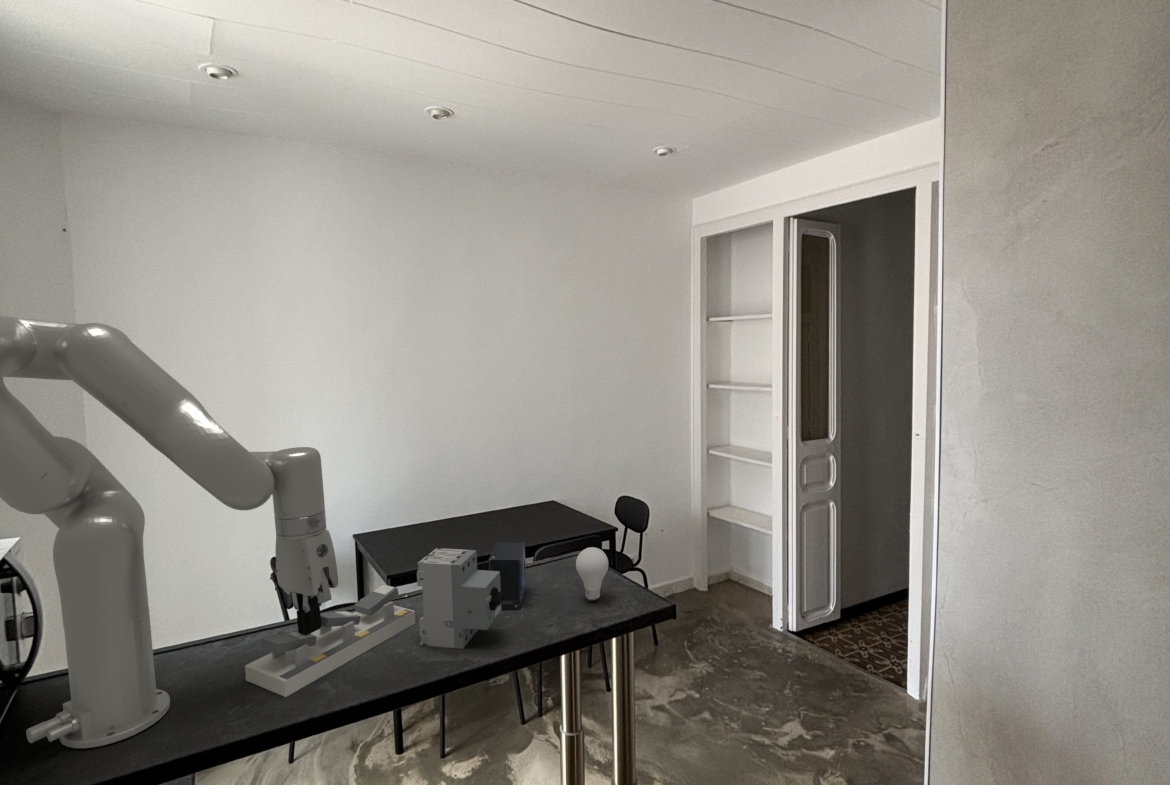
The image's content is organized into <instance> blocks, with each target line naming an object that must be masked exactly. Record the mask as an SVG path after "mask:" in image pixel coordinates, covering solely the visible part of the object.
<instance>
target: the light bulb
mask: <svg viewBox="0 0 1170 785" xmlns="http://www.w3.org/2000/svg"><path fill="white" fill-rule="evenodd" d="M575 568H576V572H577V573H578V575H579V576H580V578H581V580H582V582H583V586H584V589H585V598H586V599H587V600H589V601H591V602H594V601H597V600H598V599H600V597H601V588H602V582H603V580H604V578H605V575H606V574H607V572H608V569H609V559H608V556H607V555H606V553H605V552H604V551H603V550H602V549H600V548H598V547H594V546H592V547H591V546H590V547H586V548H585V549H583V550H581V551H579V553H578V555H577V557H576V560H575Z"/></svg>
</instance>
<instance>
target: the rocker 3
mask: <svg viewBox="0 0 1170 785" xmlns="http://www.w3.org/2000/svg"><path fill="white" fill-rule="evenodd" d="M397 596H399V588H398V587H395V586H391V585H388V584H380V585H379V586H378V587H376V588H375V589H374V590H372V591H371V592H369V593H368V594H367V595H365V596H364V597H362V598H363V599H362V598H361V599H362V600H358V601H356V603H355V604H353V607H354V612H358V613H362V614H365V615H369V616H372V615H373V614H374V613H375V612H377V611H378V610H379V609H381V608H382V607H383V605H385V604H387V603H389V602H391V601H392V600H393V599H395V598H396V597H397Z"/></svg>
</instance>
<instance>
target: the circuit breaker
mask: <svg viewBox="0 0 1170 785" xmlns="http://www.w3.org/2000/svg"><path fill="white" fill-rule="evenodd" d="M477 554H478V553H477V550H475V549H463V548H462V549H460V548H459V549H458V548H438V547H436V548H435V549H434V550H432V551H431V552H430V553H428V555H426V556H424V557H423V558H422V559H421V560H420V561H418V562H417V568H418V569H417V570H416V582H417V584H416V585H417V587H421V590H422V611H423V616H421V618H419V619H418V625H419V627H418V629H419V630H418V631H419V638H420V642H419V645H420V646H423V645H426V646H427V647H438V648H451V649H462V650H463V649H464V648H465V647H466V646H467V645H468V643H469V642H470V641H471V639H473V637H474V636H475V635H476V633H477V632H478V630H484V631H487V630H488V629H489V627H490V626H491V624H492V623H493V622H494V620H495V619H496V618H497V617H498V616H499V614H500V613H501V611H502V609H501V603H502V601H504V599H505V598H506V597H505V592H501V587H500V571H489V570H487V569H486V570H483V569H478V556H477Z"/></svg>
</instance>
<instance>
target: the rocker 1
mask: <svg viewBox="0 0 1170 785" xmlns="http://www.w3.org/2000/svg"><path fill="white" fill-rule="evenodd" d="M316 638H317V636H314V635H312V634H311V633H310V634H308V635H303V634H300V633H298V631H293V632H288V633H284V634H280V635H274V636H269V637H263V638H261V644H260V649H262V650H266V651H269V652H270V653H272V652H273V653H276V654H277V653H282V652H287V651H291V650H295V649H297V648H299V647H301V646H303V645H305V644H307V645H308V647H310V646H314V645H315V644H316Z"/></svg>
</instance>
